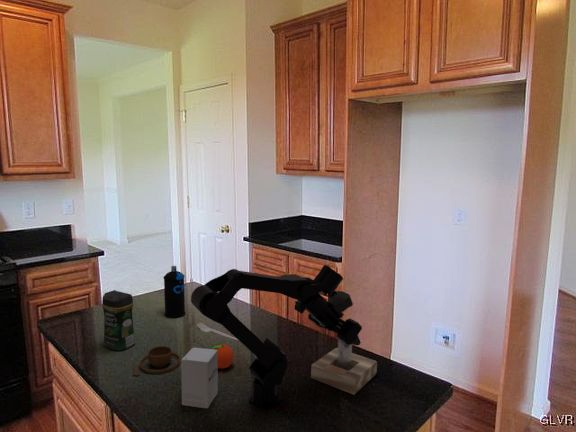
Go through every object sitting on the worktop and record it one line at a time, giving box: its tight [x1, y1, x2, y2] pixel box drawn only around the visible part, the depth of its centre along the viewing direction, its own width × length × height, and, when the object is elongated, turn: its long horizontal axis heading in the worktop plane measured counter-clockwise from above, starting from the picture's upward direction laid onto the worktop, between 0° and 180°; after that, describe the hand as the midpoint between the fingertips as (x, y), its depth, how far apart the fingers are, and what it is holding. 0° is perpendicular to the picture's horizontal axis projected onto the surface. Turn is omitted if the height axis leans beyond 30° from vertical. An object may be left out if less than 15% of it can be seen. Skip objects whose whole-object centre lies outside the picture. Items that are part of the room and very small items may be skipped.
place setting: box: [131, 345, 181, 377], centre depth 123 cm, size 18×20×6 cm
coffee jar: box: [101, 289, 136, 352], centre depth 138 cm, size 10×8×19 cm
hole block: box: [310, 347, 378, 396], centre depth 121 cm, size 14×14×4 cm
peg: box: [337, 337, 353, 371], centre depth 121 cm, size 4×4×12 cm
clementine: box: [210, 343, 235, 370], centre depth 125 cm, size 8×7×7 cm
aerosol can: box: [162, 265, 186, 319], centre depth 165 cm, size 8×8×20 cm
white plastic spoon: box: [196, 321, 240, 342], centre depth 149 cm, size 3×20×2 cm, turn 57°
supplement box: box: [180, 347, 219, 409], centre depth 108 cm, size 7×7×13 cm
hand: (349, 337), depth 121 cm, fingers open, 9 cm apart
